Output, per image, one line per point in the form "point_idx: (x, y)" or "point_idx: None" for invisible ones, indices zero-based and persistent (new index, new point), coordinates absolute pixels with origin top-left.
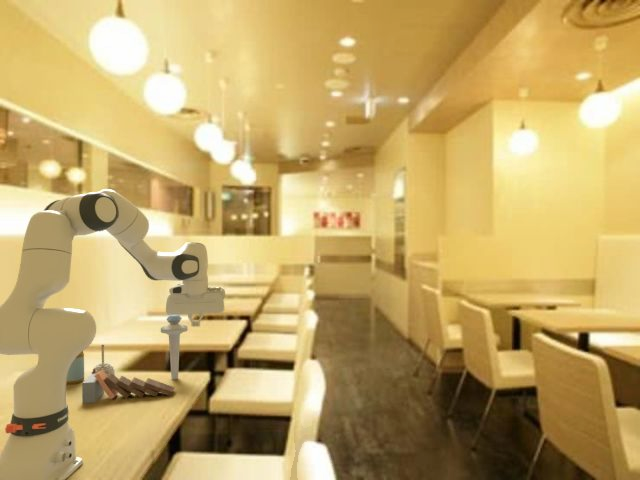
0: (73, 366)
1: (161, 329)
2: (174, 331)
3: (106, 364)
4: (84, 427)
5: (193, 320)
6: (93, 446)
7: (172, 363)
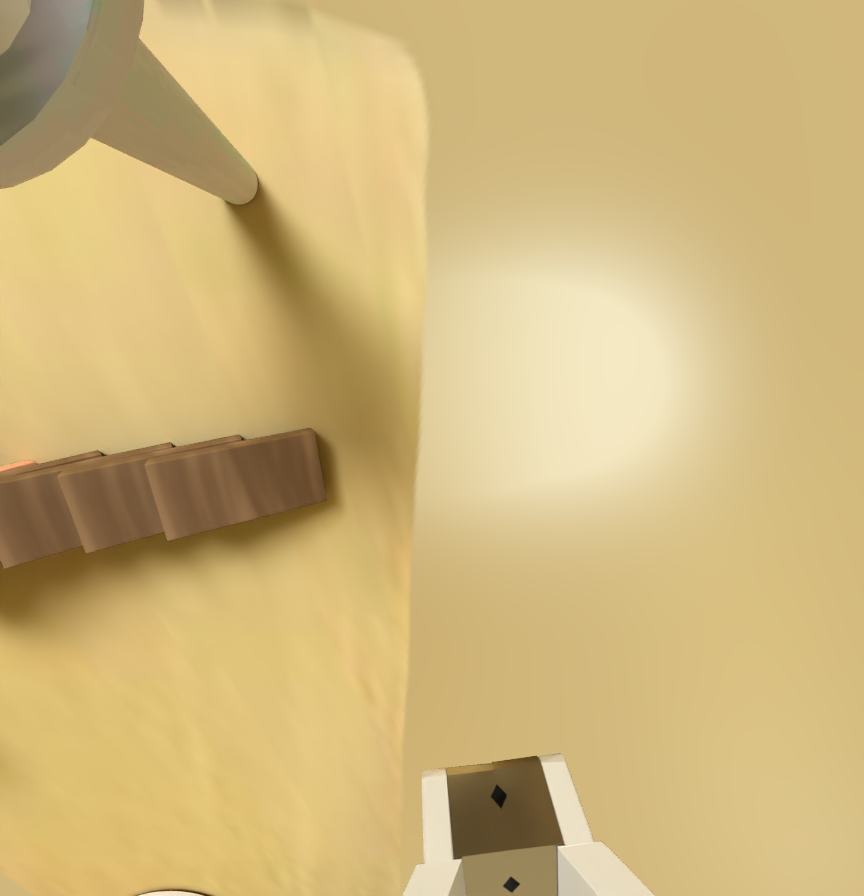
0: None
1: None
2: None
3: None
4: (131, 760)
5: (459, 874)
6: (240, 855)
7: (181, 179)
